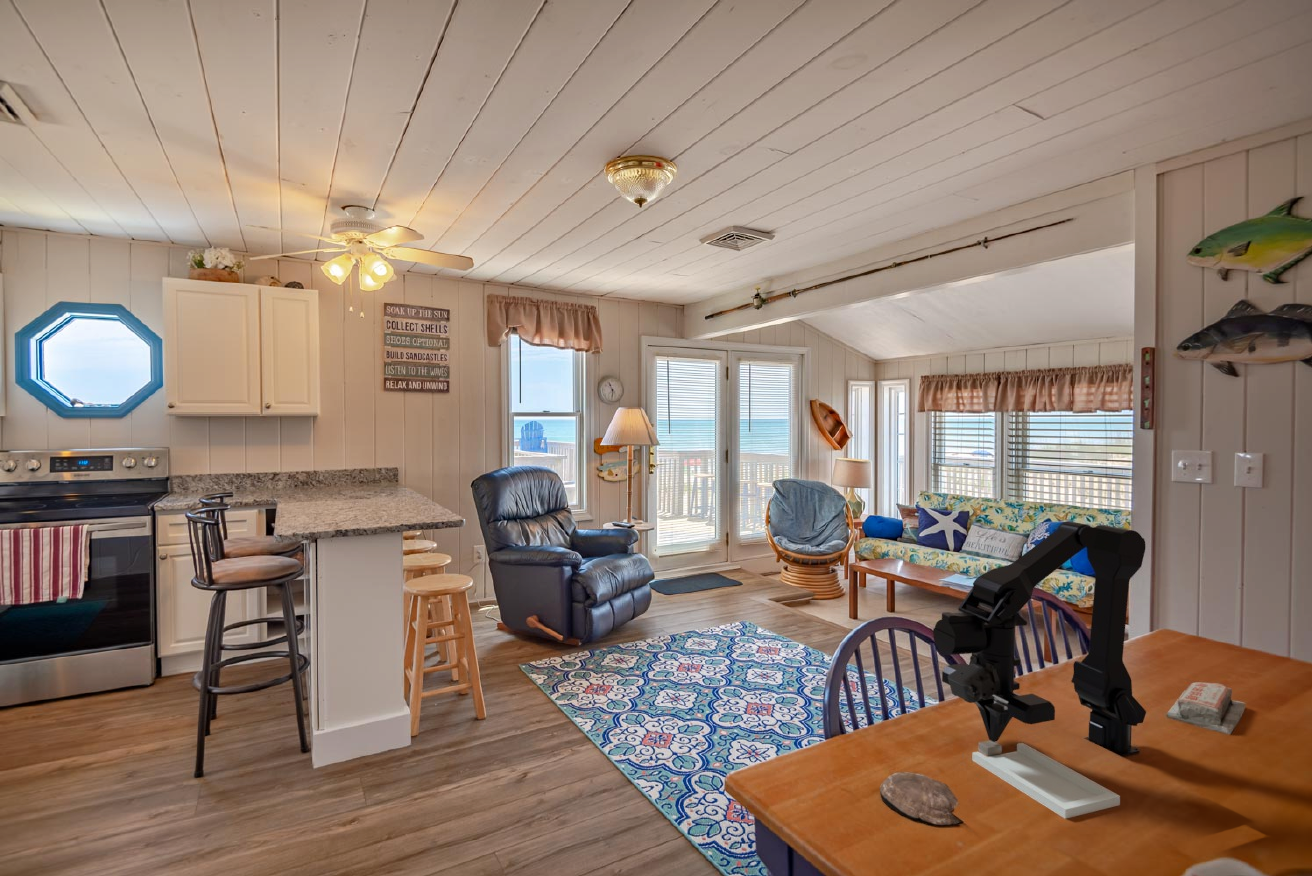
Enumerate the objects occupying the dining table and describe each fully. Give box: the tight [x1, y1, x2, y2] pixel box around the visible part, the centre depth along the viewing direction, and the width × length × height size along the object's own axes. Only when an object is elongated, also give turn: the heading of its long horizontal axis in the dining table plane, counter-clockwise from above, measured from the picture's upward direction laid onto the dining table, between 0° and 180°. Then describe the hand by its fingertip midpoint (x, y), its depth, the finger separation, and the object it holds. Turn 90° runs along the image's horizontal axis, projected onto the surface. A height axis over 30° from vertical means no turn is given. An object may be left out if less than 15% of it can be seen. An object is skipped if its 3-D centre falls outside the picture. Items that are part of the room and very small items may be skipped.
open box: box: [971, 742, 1121, 820], centre depth 104 cm, size 11×17×3 cm, turn 19°
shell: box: [879, 771, 964, 827], centre depth 101 cm, size 12×13×4 cm
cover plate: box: [977, 740, 1003, 757], centre depth 117 cm, size 8×10×3 cm
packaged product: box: [1165, 681, 1246, 736], centre depth 133 cm, size 18×5×10 cm
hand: (993, 740), depth 113 cm, fingers closed
